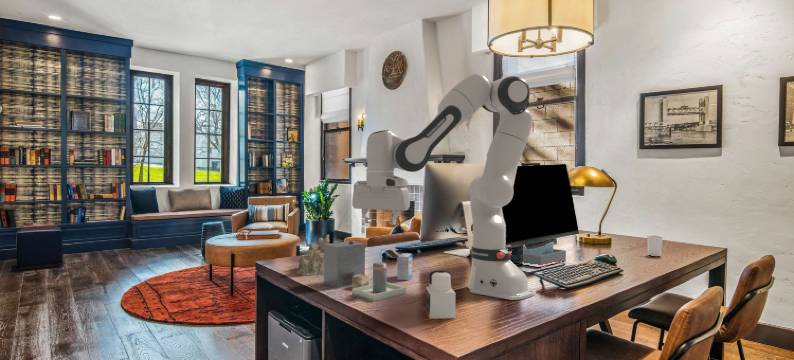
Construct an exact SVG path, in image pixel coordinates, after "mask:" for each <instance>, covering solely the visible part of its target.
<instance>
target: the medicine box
mask: <svg viewBox="0 0 794 360" xmlns="http://www.w3.org/2000/svg"><path fill="white" fill-rule="evenodd" d="M412 276H413V254H412V253H405V252H404V253H400V254H399V255H398V256H397V258H396V277H397V278H396V279H397V280H398V281H410V280H411V278H412Z"/></svg>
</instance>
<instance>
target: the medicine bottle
mask: <svg viewBox="0 0 794 360" xmlns="http://www.w3.org/2000/svg"><path fill="white" fill-rule="evenodd" d="M428 283H429V285H428V286H425V313H426V315H427V317H428V319H430V320H434V319H435V320H439V319H442V320H443V319H455V318H456V292H455V291H454V289H453V288H452V273H450V272H449V271H447V270H433V271H430V273H429V282H428Z"/></svg>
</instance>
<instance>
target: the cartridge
mask: <svg viewBox="0 0 794 360" xmlns="http://www.w3.org/2000/svg"><path fill="white" fill-rule="evenodd" d="M387 265H388V263H386V262H373V263H372V284H373V292H374V293H382V292H386V283H387V282H388V281H387V280H388V279H387V278H388V277H387V276H388V274H387V272H388V271H387V270H388V266H387Z"/></svg>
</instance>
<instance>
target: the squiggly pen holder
mask: <svg viewBox="0 0 794 360" xmlns="http://www.w3.org/2000/svg"><path fill="white" fill-rule="evenodd" d="M553 249H554V241H553V242H550V243H548V244H546V245H545V246H541V247H538V248H534V249H527V248H526V246H523V253H524V254H530V255H537V256H542V255H547V254H551V253H553Z"/></svg>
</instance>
